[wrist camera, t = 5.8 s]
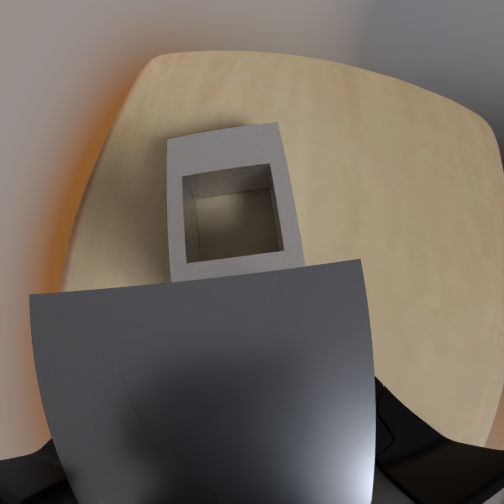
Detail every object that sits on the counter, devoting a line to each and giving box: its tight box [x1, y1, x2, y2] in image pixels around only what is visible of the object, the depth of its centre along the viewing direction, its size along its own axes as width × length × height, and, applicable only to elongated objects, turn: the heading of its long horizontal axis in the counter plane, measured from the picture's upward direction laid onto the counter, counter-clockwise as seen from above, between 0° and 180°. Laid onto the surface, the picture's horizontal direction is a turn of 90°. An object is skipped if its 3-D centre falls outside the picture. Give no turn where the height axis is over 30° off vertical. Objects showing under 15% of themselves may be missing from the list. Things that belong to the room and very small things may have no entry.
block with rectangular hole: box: [167, 122, 305, 282], centre depth 21 cm, size 12×9×4 cm
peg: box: [29, 259, 376, 504], centre depth 9 cm, size 5×5×12 cm
